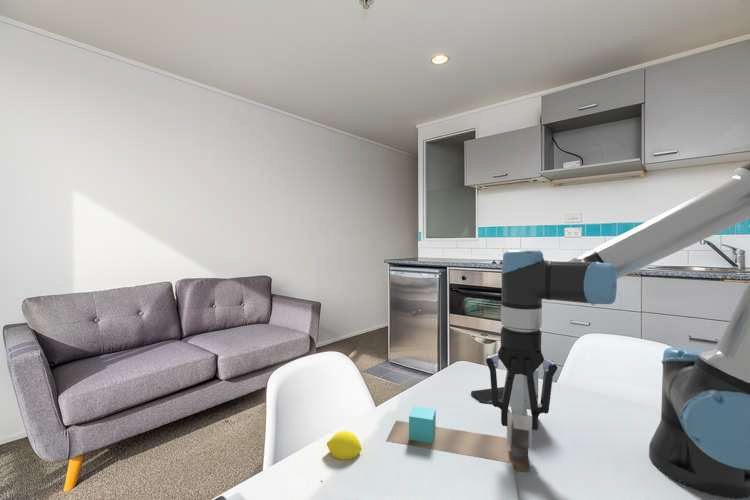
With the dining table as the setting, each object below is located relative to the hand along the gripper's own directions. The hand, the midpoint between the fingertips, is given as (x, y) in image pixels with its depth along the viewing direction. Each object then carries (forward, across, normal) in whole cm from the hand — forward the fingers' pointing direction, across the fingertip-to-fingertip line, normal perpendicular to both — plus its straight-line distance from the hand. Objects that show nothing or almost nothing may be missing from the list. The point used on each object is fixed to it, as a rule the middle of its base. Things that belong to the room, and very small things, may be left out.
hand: (518, 442), depth 73 cm
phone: (+4, +2, -29) cm, 29 cm away
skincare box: (+3, -3, -18) cm, 18 cm away
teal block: (+2, +20, 0) cm, 20 cm away
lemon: (+3, +33, +11) cm, 35 cm away
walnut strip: (+3, +12, 0) cm, 13 cm away
